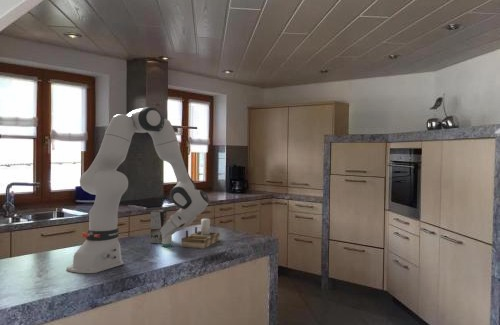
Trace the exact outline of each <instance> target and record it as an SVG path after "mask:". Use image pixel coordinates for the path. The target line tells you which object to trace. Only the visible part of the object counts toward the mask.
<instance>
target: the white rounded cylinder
mask: <svg viewBox="0 0 500 325" xmlns="http://www.w3.org/2000/svg"><path fill="white" fill-rule="evenodd" d="M162 235H163V234H162ZM172 237H173V235H172V234H169V235H167V237H166V238H164V239H163V238H162V243H161V247H162V248H168V249H169V248H171V247H172V246H173V241H172V240H173V238H172Z"/></svg>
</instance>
